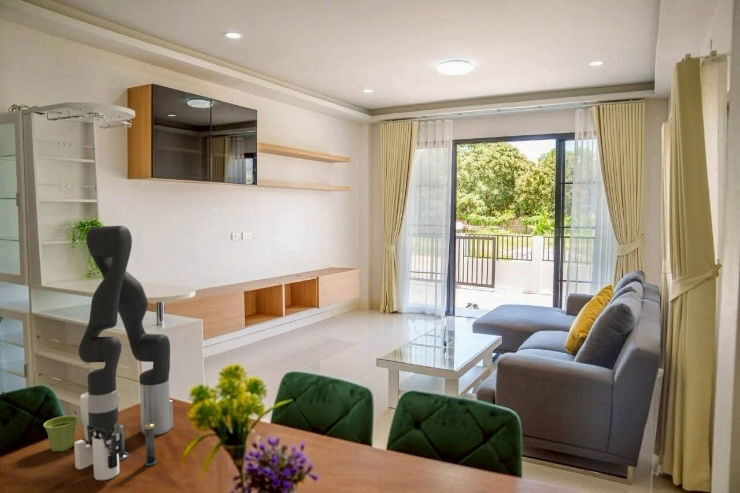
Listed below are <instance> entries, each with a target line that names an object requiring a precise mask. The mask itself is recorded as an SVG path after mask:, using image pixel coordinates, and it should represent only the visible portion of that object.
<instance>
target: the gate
mask: <svg viewBox="0 0 740 493" xmlns="http://www.w3.org/2000/svg"><path fill="white" fill-rule="evenodd" d="M73 448H74V464H75V469H77V470H79V471H80V470H83V469H86V468H88V467H89V466H91V465H93V448H92V445H91V446H90V445H89V443H87V441H86V440H85V439H84V440H83V439H78V440H76V441H74V445H73Z"/></svg>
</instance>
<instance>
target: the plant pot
mask: <svg viewBox="0 0 740 493" xmlns="http://www.w3.org/2000/svg"><path fill="white" fill-rule="evenodd" d="M78 421H79V418H78V416H76V415H64V416H57V417H55V418H52V419H49V420H46V421H45V422H44V423H43V427H44V428H45V431H46V432H47V436H48V441H49V446H50V449H51V451H52V452H64V451H68V450H70V449H72V447H74V442H75V435H76V434H75V433H76V426H77V422H78Z"/></svg>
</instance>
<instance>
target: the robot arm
mask: <svg viewBox="0 0 740 493" xmlns="http://www.w3.org/2000/svg"><path fill="white" fill-rule="evenodd" d="M132 243H133V236H132V234H131V231H130V230H129V228H127V227H126V226H124V225H105V226H104V225H103V226H95V227H91V228H89V230H88V231H87V234H86V245H87V249H88V251H89V253H90V255H91V257H92V259H93V261H94V263H95V265H96V267H97V268H98V270H99V271H100V273H101V275H102V278H103V279H102V281H101V282H100V283H99V285H98V287H97V288H96V289H95V291H94V293H93V296H92V298H91V303H90V304H91V305H90V311H89V320H88V324H87V326H86V330H85V331H84V334H83V336H82V339H81V341H80V344H79V347H78V356H79V358H80V360H81V361H82V362H84V363H92V364H93V363H104V367H102V368H98V369H95V370H91V371H90V372H89V373H88V375H87V392H88V420H89V425H87V432H88V441H87V442H88V444H89V445H90V446H91V445H92V442H93V440H94V436H95V437H98V436H99V438H100V439H102V440H103V443H104V448H105V449H107V454H108V468H110V469H112V468H114V467H116V466H117V454H118V453H121V452H122V433H121V432H119V433H116V432H115V428H114V425H116V423H118V421H119V399H118V397H119V396H118V392H117V370H118V366H119V360H120V356H121V353H122V343H121V341H120V339H118V337H116V336H100V334H101V333H102V332H103V331H105V330H109V329H112V328H115V327H116V326H117V324H118V314H119V317H120V320H121V321H122V324H123V327H124V330H125V333H126V335H127V339H128V344H129V346H130V350H131V353H132V356H133V357H134V358H135V359H136V361H139V362H147V363H152V368H151V369H148V370H145V371H143V372H141V373H140V374H139V378H138V379H139V381H138V382H139V400H140V418H141V419H140V422H141V423H140V424H141V425H140V426H141V434H142V435H144V436H145V429H144V425H145V424H148V423H154V424H155V427H154V436H158V435H159V436H160V435H162V434H165V433H167V432H169V431H170V430H171V429H172V428H174V413H173V412H174V411H173V410H174V408H173V406H174V404H173V400H172V399H170V398H171V397H170V376H169V375H170V370H171V343H170V339H169V337H168V336H167V335H166V334H158V333H157V334H156V333H155V334H153V333H147V332H146V331H145V328H144V326H143V321H144V317H145V315H146V312H147V309H148V306H149V301H148V298H147V295H146V293H145V289H144V288H143V286H142V284H141V283H140V281H139V280H137V278H136V277H134V276H133V275H132V274H131V273H129V272H128V271H127V268H128V264H129V259H130V256H131V252H132V245H133V244H132ZM92 437H93V439H92ZM105 438H106V439H105ZM109 440H111V444H107V443H106V441H109ZM117 446H118V448H117ZM110 447H111V450H110ZM92 448H93V446H92Z"/></svg>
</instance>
